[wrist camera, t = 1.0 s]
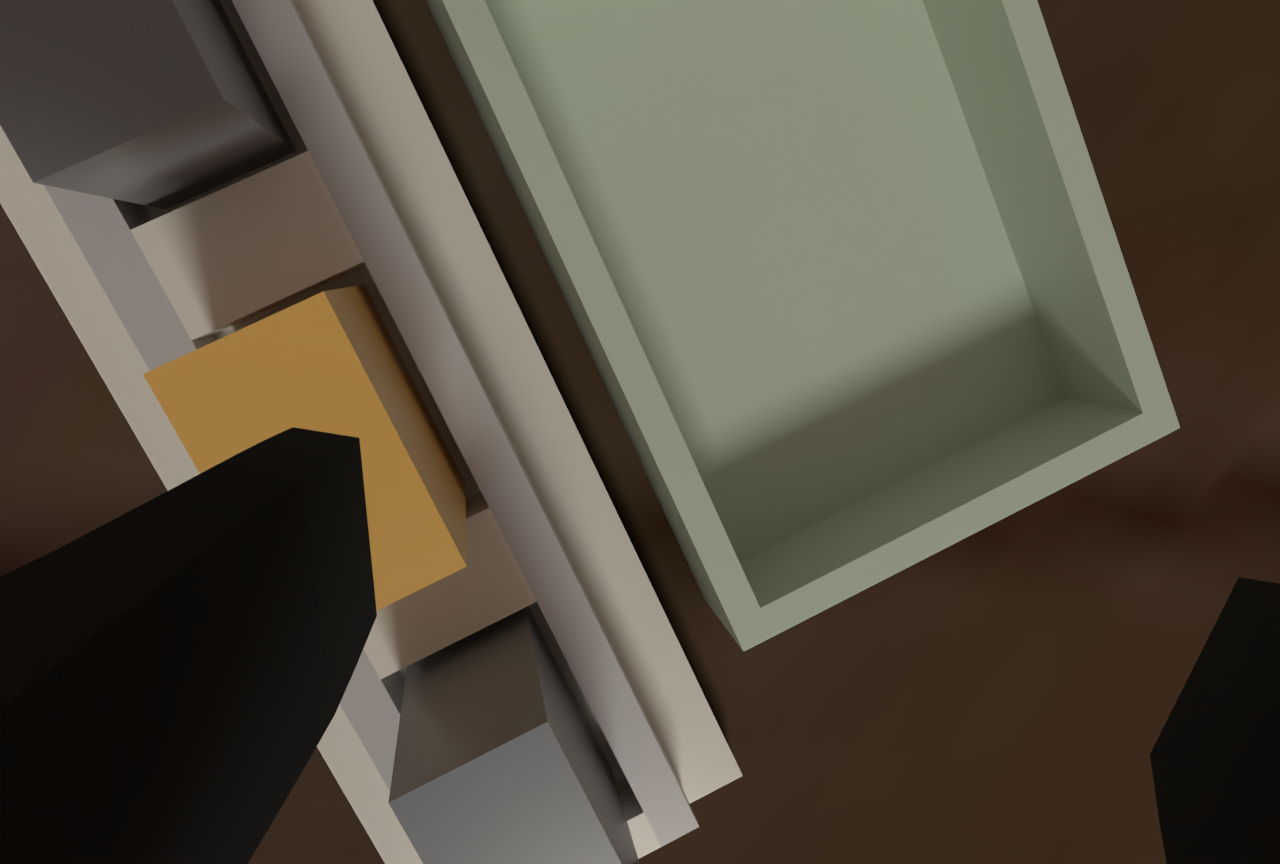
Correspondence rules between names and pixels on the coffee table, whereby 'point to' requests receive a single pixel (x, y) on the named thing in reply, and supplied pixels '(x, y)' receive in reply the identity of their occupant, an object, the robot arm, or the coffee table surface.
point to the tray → (821, 269)
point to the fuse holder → (442, 371)
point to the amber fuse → (331, 423)
